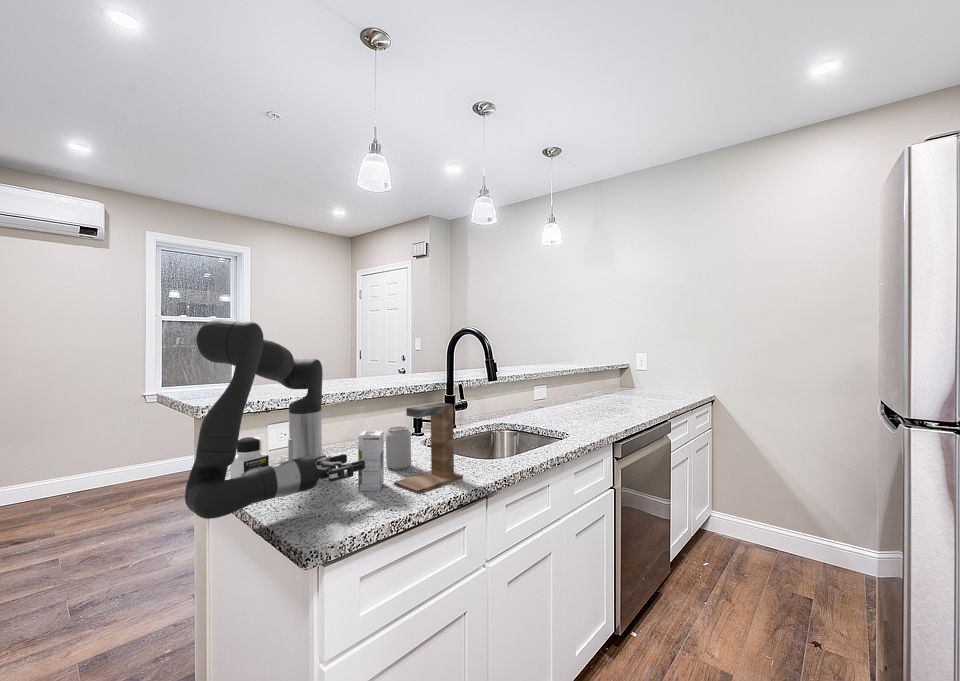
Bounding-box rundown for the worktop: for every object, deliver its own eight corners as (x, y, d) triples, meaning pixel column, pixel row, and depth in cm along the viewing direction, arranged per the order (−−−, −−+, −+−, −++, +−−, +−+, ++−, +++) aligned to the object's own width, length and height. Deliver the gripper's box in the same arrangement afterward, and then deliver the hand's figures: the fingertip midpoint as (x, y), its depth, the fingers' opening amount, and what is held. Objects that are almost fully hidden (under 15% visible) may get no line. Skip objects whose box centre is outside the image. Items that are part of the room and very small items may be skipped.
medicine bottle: (244, 487, 115) (243, 442, 115) (229, 482, 119) (229, 439, 119) (269, 479, 122) (268, 436, 121) (254, 475, 125) (254, 434, 125)
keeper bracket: (418, 493, 109) (417, 412, 109) (394, 484, 116) (393, 408, 116) (462, 477, 121) (461, 404, 121) (438, 470, 127) (437, 401, 127)
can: (405, 471, 127) (405, 430, 127) (382, 470, 129) (381, 430, 129) (414, 464, 135) (414, 425, 135) (392, 462, 136) (391, 425, 136)
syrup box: (362, 484, 116) (361, 430, 116) (384, 483, 117) (383, 430, 117) (358, 491, 111) (357, 435, 111) (381, 490, 111) (380, 434, 111)
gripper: (305, 466, 93) (370, 451, 105) (278, 454, 103) (340, 442, 115) (306, 501, 94) (370, 481, 105) (278, 486, 103) (340, 470, 115)
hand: (354, 461), depth 110 cm, fingers open, 8 cm apart
